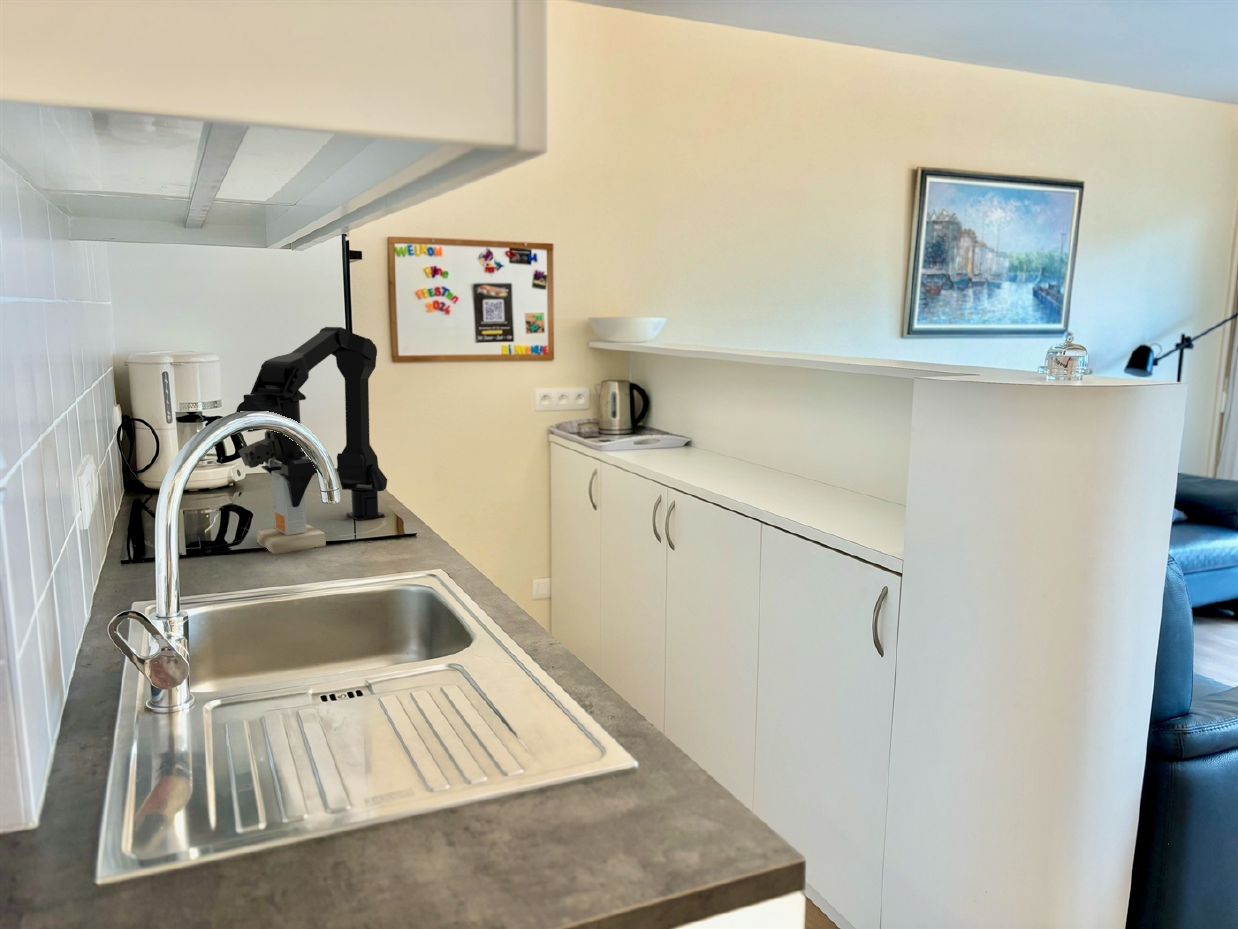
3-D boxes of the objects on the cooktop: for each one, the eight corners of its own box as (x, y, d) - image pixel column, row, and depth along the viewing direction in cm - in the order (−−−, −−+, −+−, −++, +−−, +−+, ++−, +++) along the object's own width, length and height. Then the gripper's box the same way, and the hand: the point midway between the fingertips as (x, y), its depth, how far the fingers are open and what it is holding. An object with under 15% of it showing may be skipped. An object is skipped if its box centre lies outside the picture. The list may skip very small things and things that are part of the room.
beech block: (257, 545, 179) (256, 530, 178) (307, 537, 185) (306, 523, 185) (274, 556, 171) (273, 540, 171) (325, 548, 177) (325, 533, 177)
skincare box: (274, 530, 179) (270, 470, 176) (296, 526, 181) (292, 468, 179) (286, 536, 174) (281, 475, 172) (307, 532, 177) (303, 472, 175)
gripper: (226, 423, 176) (231, 501, 179) (259, 434, 162) (264, 518, 165) (283, 419, 183) (287, 494, 186) (319, 429, 169) (323, 510, 172)
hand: (289, 504), depth 177 cm, fingers closed on skincare box, 6 cm apart
